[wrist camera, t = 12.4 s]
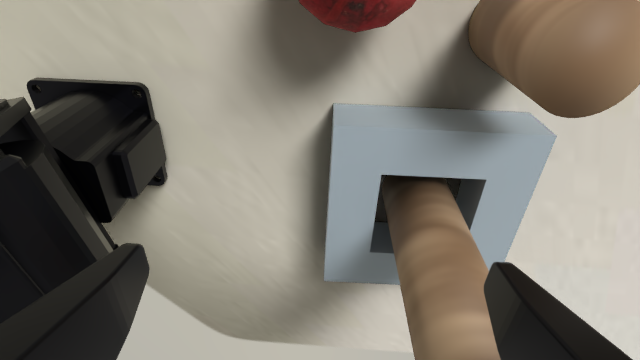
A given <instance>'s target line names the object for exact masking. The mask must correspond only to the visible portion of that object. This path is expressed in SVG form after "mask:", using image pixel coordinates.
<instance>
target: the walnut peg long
mask: <svg viewBox="0 0 640 360" xmlns="http://www.w3.org/2000/svg"><path fill="white" fill-rule="evenodd" d="M382 196H383V201H384V206H385V211H386V216H387V221H388V226H389V231H390V236H391V241H392V246H393V251H394V256H395V261H396V266H397V271H398V276H399V281H400V286H401V291H402V296H403V301H404V306H405V311H406V316H407V322H408V327H409V332H410V337H411V342H412V347H413V352H414V357H415V360H501V359H500V356H499V353H498V350H497V346H496V342H495V338H494V334H493V330H492V325H491V321H490V317H489V312H488V308H487V304H486V300H485V295H484V283H485V280H486V278H487V275H488V273H489V270H488V268H487V266H486V264H485V262H484V260H483V258H482V256H481V253H480V251H479V249H478V247H477V245H476V243H475V241H474V239H473V237H472V235H471V232H470V230H469V228H468V226H467V224H466V222H465V220H464V218H463V216H462V214H461V212H460V209H459V207H458V205H457V203H456V201H455V199H454V197H453V195H452V193H451V191H450V189H449V186H448V184H447V182H446V180H445V178H443V177H422V176H401V175H387V177H386V178H385V180H384V182H383V186H382Z"/></svg>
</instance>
